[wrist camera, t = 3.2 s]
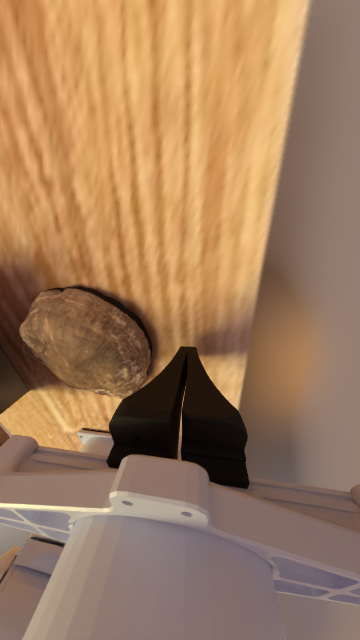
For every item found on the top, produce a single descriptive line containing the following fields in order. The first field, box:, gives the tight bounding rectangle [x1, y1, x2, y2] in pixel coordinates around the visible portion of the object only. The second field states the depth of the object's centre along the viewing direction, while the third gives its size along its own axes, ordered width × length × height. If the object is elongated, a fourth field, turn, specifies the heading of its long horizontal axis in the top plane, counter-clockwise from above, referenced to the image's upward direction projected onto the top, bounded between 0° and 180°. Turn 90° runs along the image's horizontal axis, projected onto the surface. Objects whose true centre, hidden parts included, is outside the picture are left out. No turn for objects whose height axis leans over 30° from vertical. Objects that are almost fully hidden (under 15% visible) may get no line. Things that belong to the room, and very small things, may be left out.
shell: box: [19, 287, 152, 399], centre depth 13 cm, size 12×13×4 cm
